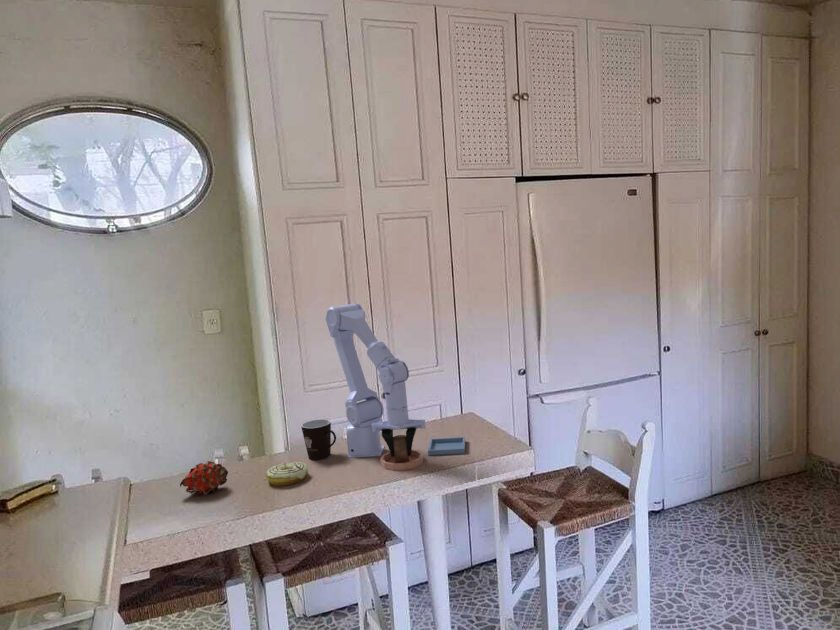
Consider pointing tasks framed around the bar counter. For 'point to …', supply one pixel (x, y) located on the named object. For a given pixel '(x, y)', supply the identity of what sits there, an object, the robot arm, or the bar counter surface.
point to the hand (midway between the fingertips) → (401, 455)
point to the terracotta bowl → (413, 462)
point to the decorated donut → (287, 473)
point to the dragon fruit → (205, 478)
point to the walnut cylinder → (400, 449)
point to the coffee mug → (318, 438)
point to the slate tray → (446, 446)
